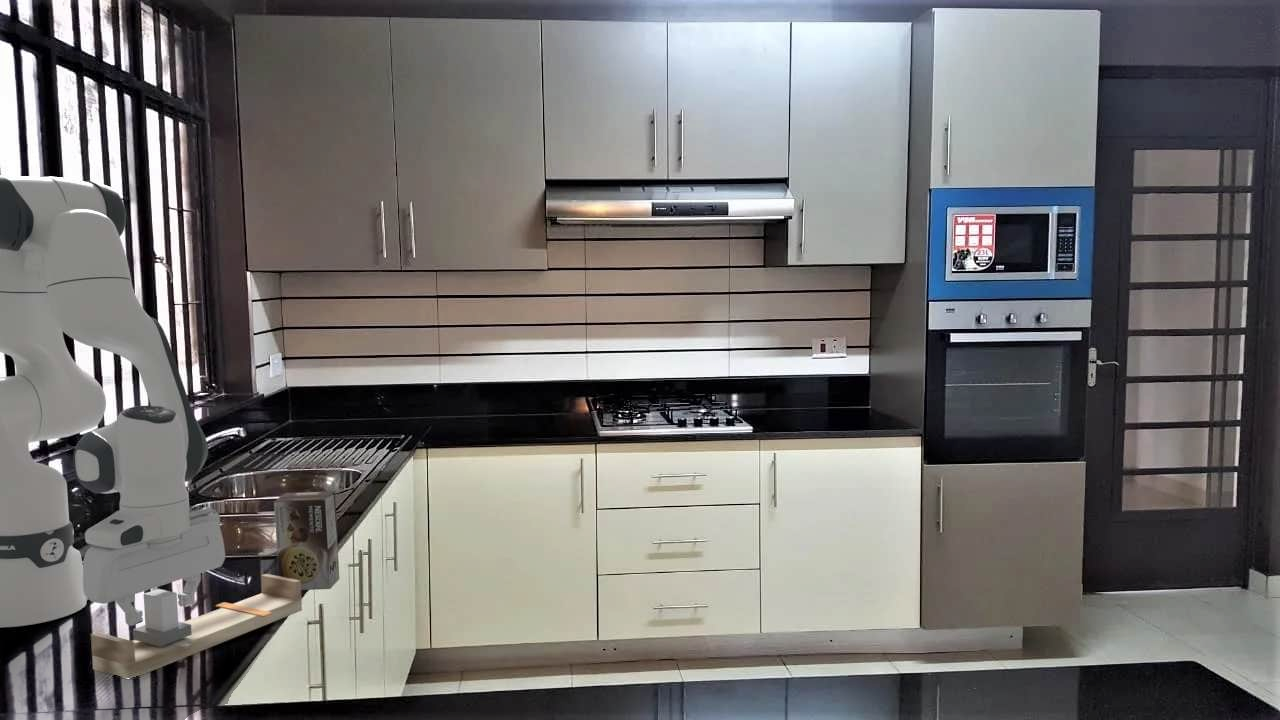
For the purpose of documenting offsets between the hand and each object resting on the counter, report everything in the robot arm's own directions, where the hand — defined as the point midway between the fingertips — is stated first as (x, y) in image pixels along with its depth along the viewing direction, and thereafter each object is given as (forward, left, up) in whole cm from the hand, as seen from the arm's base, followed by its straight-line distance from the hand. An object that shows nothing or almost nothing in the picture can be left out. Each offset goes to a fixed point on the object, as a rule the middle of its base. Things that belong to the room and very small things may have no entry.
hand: (161, 614), depth 138 cm
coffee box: (-5, +32, -6) cm, 33 cm away
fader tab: (0, 0, -3) cm, 3 cm away
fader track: (0, +7, -6) cm, 9 cm away
